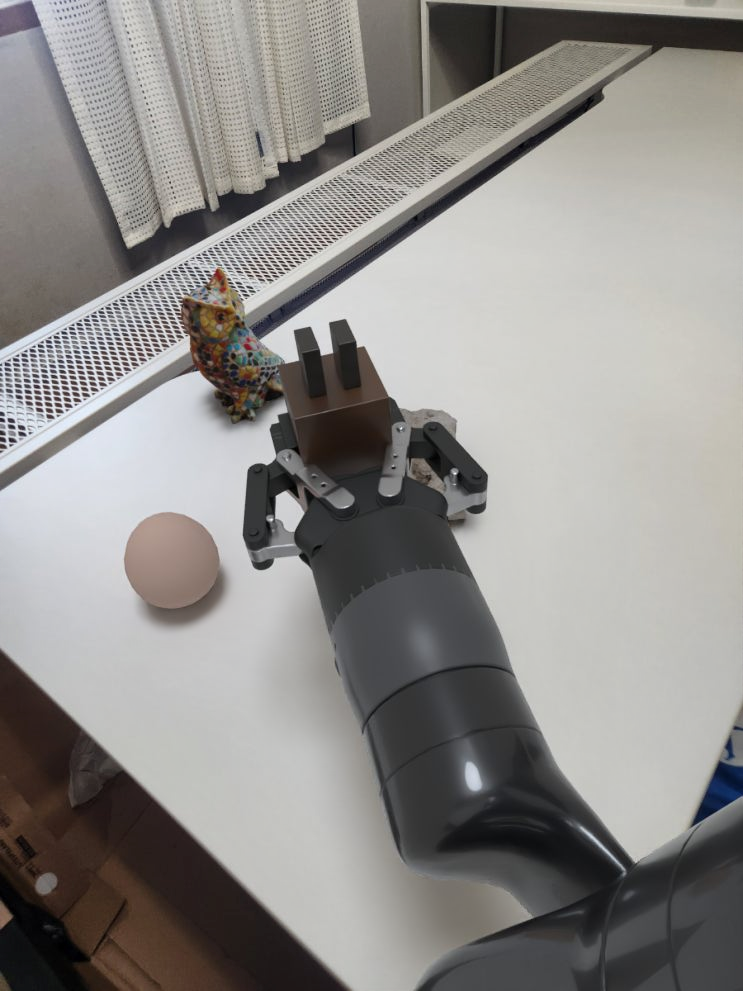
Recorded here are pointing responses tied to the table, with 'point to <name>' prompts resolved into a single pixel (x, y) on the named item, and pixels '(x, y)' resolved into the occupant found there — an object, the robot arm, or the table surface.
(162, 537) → the egg
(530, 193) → the table surface
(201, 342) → the figurine
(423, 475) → the stone
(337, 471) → the knife block
